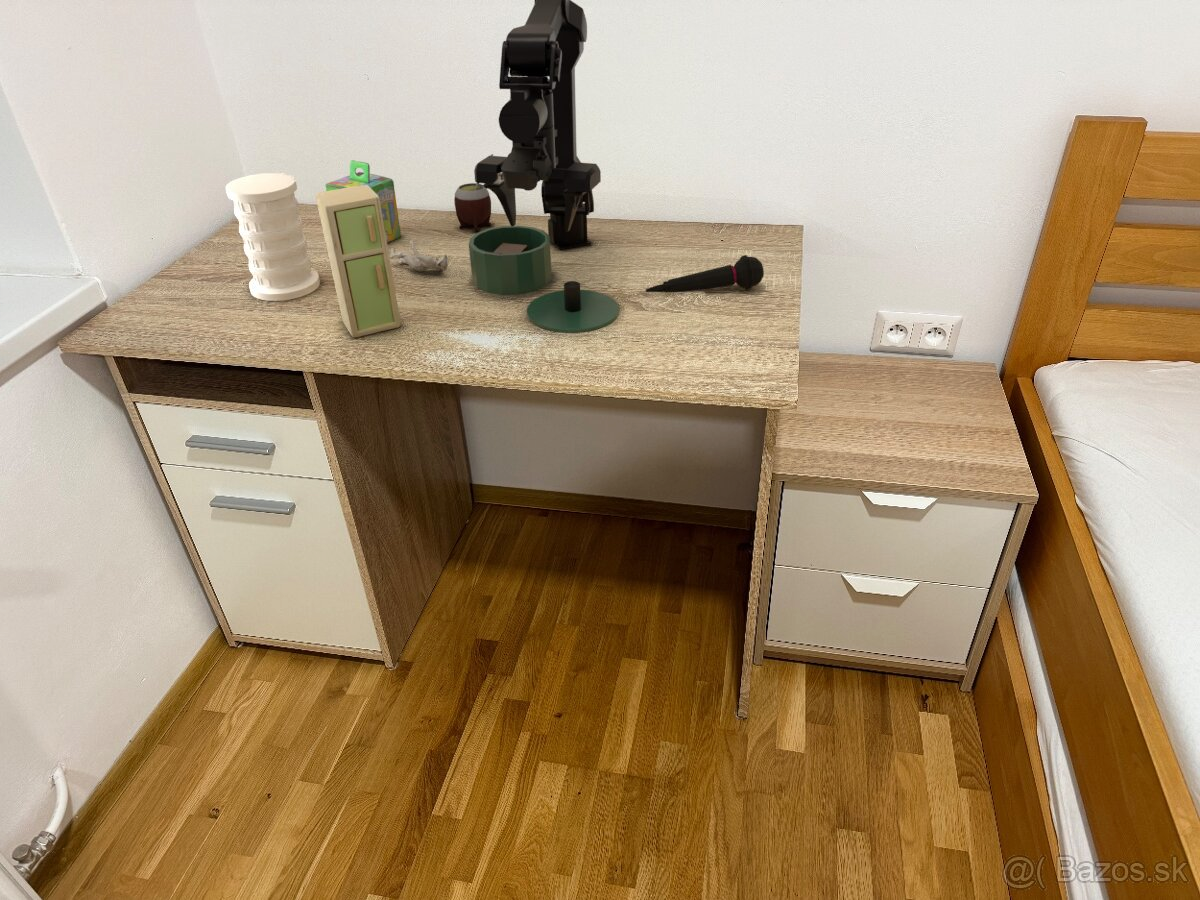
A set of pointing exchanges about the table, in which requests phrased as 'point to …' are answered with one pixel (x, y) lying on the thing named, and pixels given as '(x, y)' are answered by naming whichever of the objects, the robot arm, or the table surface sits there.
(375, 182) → the chalk box
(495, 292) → the tin
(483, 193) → the mate gourd
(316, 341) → the table surface
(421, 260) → the soldier figure
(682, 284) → the microphone
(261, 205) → the decorative container
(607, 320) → the lid
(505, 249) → the block
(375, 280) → the toy refrigerator
